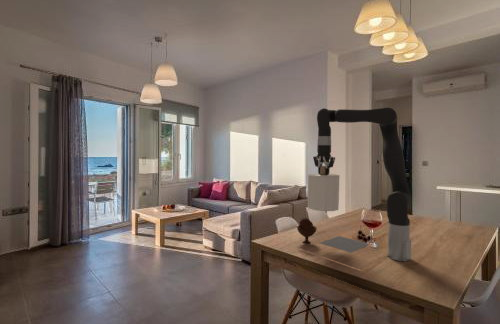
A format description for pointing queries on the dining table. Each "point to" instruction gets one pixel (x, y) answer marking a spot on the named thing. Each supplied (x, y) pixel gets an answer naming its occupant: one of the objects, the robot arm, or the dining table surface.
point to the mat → (345, 244)
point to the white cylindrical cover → (323, 191)
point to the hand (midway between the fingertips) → (323, 174)
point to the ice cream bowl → (306, 229)
